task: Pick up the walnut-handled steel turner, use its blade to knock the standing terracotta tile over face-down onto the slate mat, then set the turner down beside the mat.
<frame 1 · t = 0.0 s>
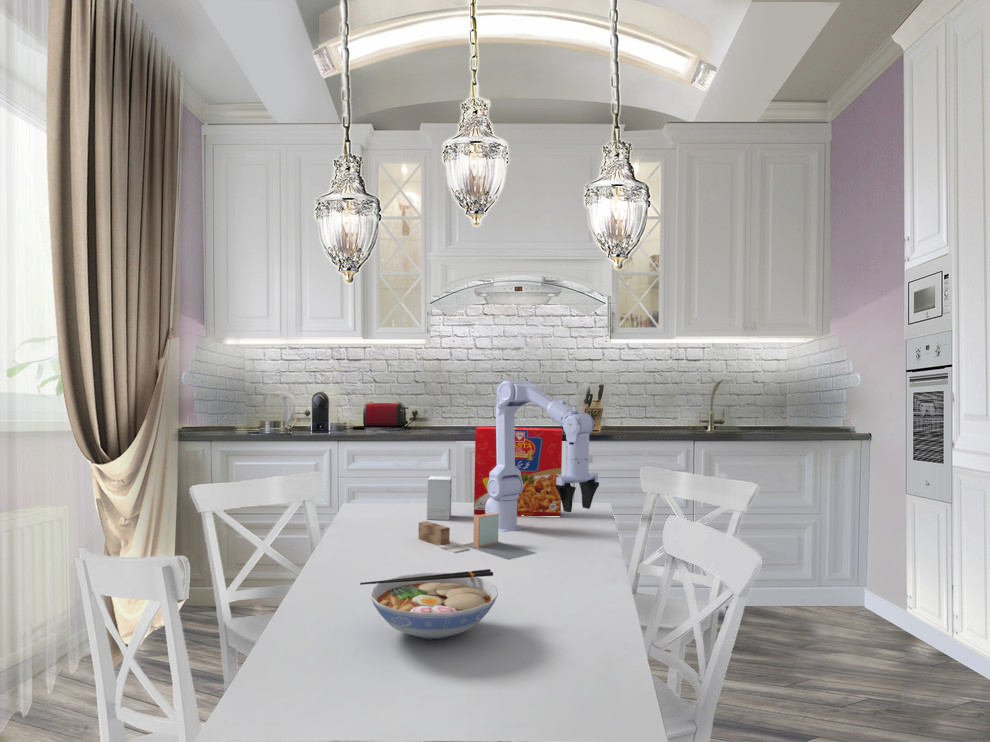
hand: (577, 509, 182), 10 cm above the table, fingers open, 7 cm apart
pasta box: (517, 514, 225), on the table
ramen bowl: (433, 633, 122), on the table
mat: (498, 550, 179), on the table
tile: (485, 544, 182), resting on mat
supplement box: (438, 518, 217), on the table
turner: (440, 545, 182), on the table
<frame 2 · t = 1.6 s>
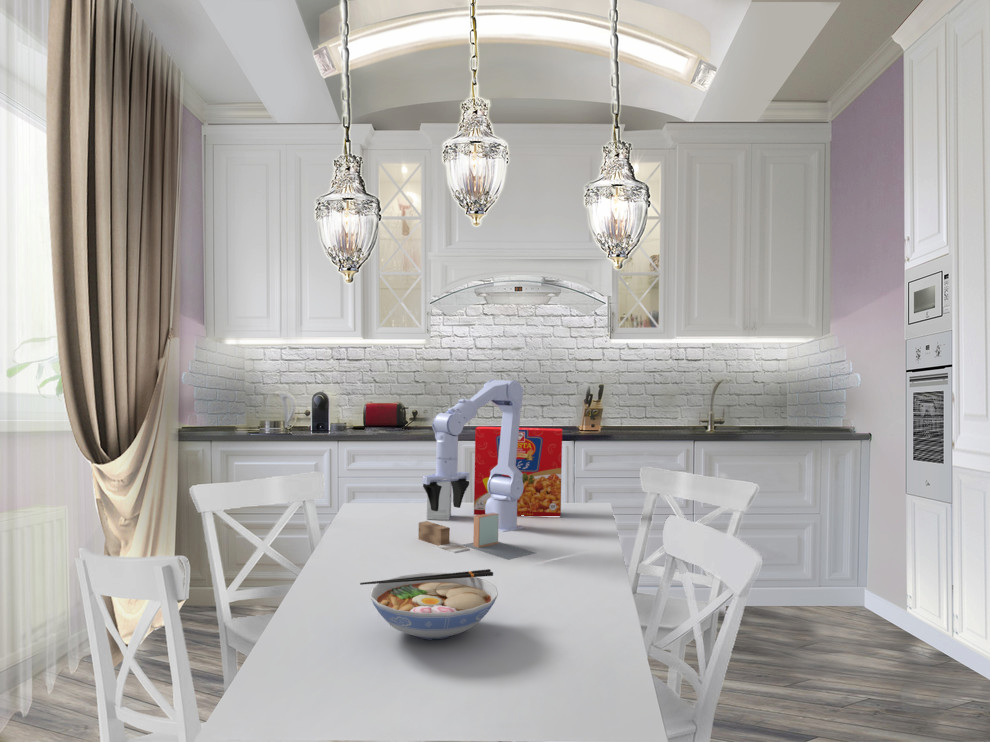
hand: (445, 508, 183), 10 cm above the table, fingers open, 7 cm apart
nothing on the table moved.
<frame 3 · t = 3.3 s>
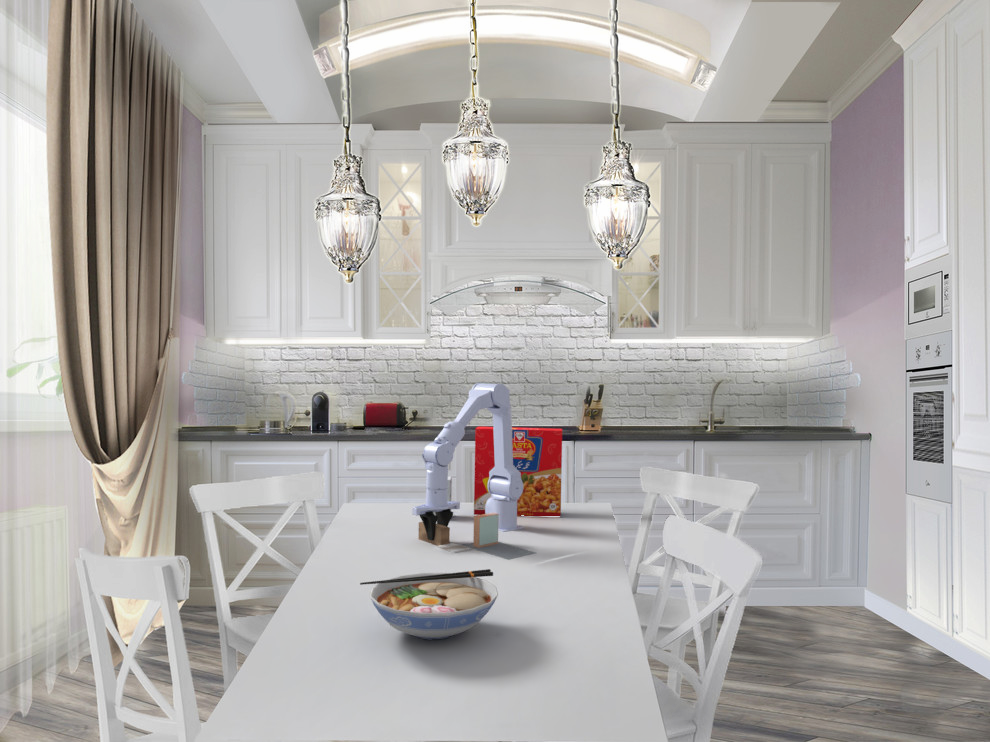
hand: (435, 538, 184), 1 cm above the table, fingers closed on turner, 3 cm apart
turner: (440, 545, 182), on the table, touching gripper
everything else where it was.
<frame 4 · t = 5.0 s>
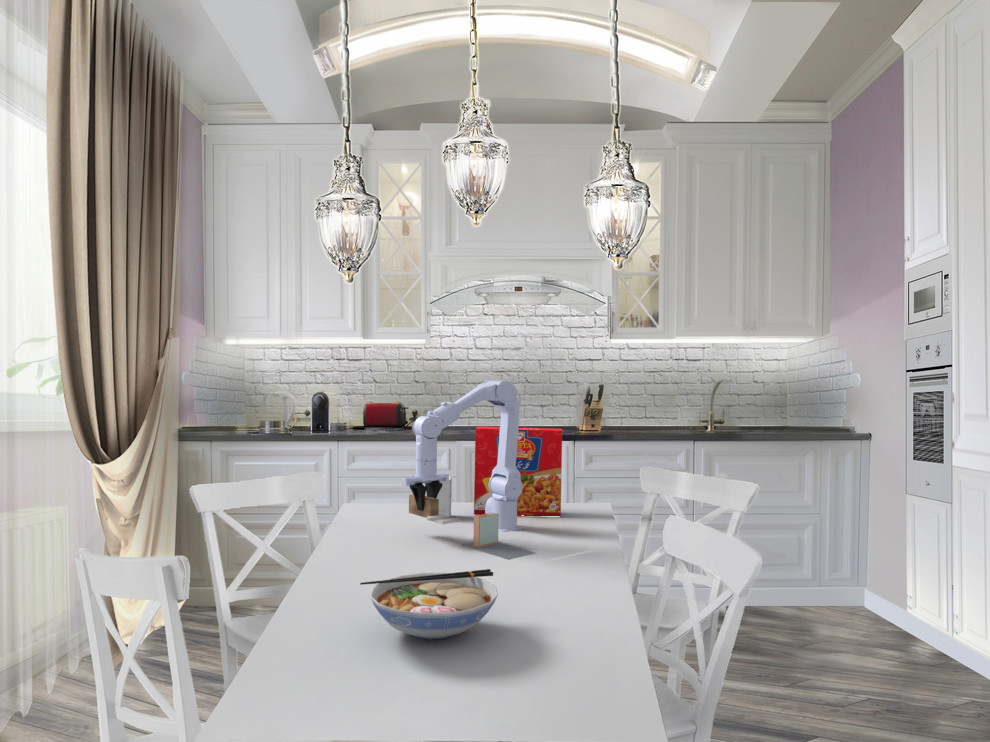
hand: (425, 509, 189), 8 cm above the table, fingers closed on turner, 3 cm apart
turner: (429, 517, 187), point 6 cm above the table, touching gripper
everything else where it was.
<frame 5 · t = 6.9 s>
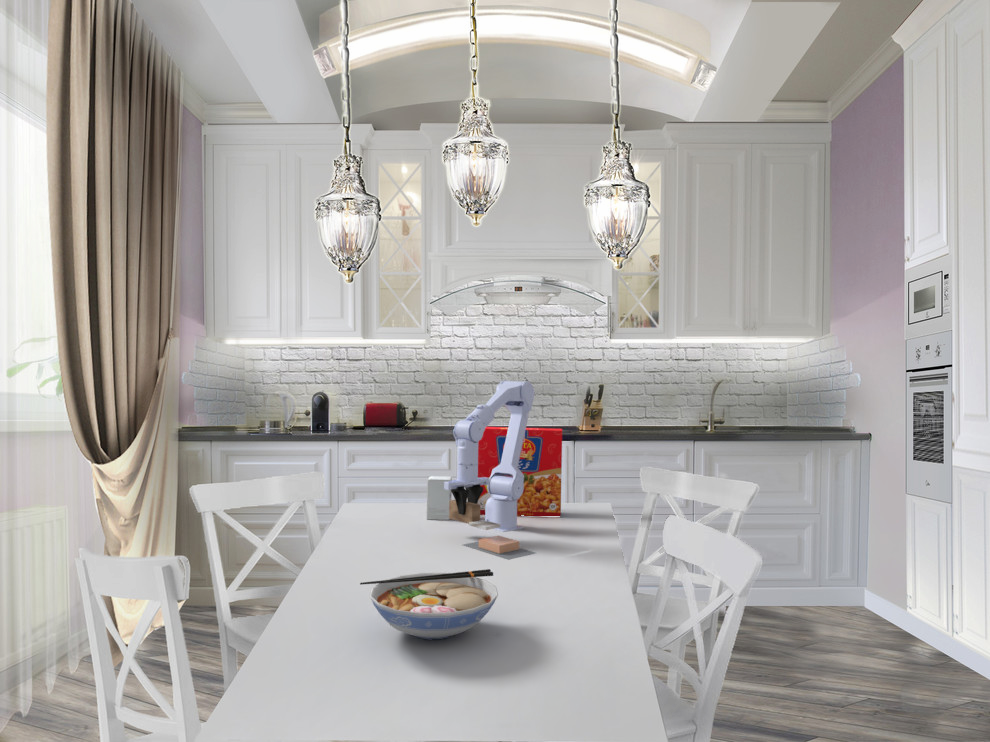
hand: (466, 513, 188), 7 cm above the table, fingers closed on turner, 3 cm apart
tile: (488, 541, 181), point 2 cm above the table, tilted 90°, touching mat
turner: (471, 522, 187), point 5 cm above the table, touching gripper
everything else where it was.
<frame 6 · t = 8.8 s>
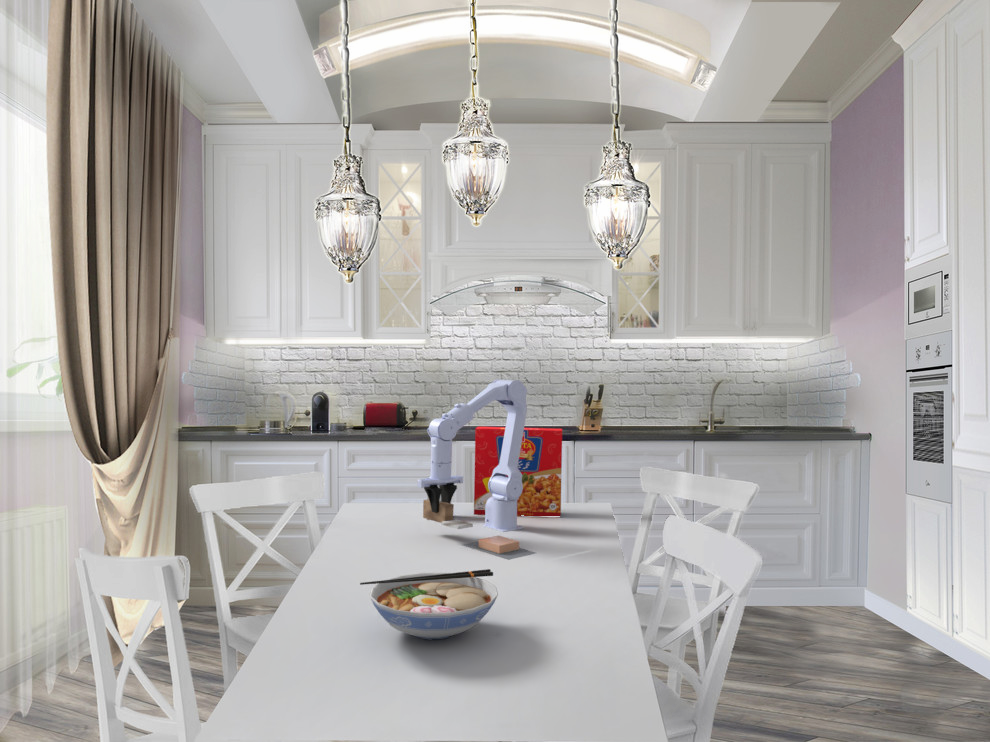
hand: (439, 511, 189), 8 cm above the table, fingers closed on turner, 3 cm apart
turner: (444, 522, 188), point 5 cm above the table, touching gripper
everything else where it was.
when the fingers open (3 cm above the table, at t = 10.2 s): turner stays where it is, on the table.
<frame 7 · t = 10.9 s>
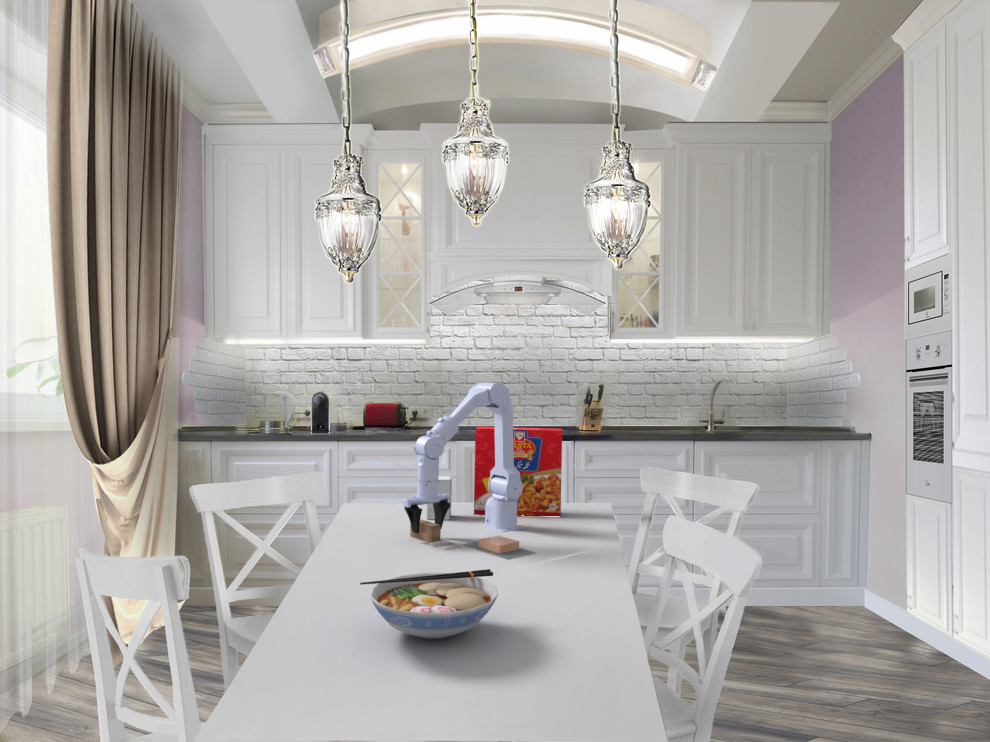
hand: (427, 530, 187), 3 cm above the table, fingers open, 7 cm apart
turner: (431, 543, 185), on the table
everything else where it was.
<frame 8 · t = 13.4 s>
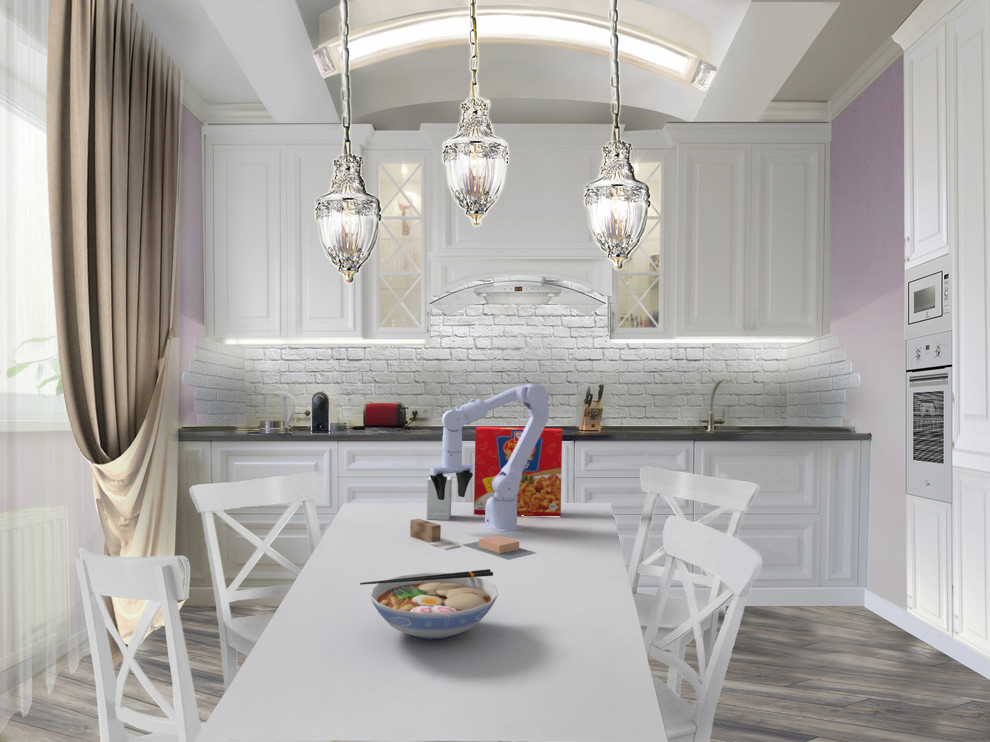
hand: (451, 498, 200), 9 cm above the table, fingers open, 7 cm apart
nothing on the table moved.
at the end: tile tilted 90°; tile inside the target area (3.4 cm from its centre), point 1.6 cm above the table; the gripper is holding nothing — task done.
